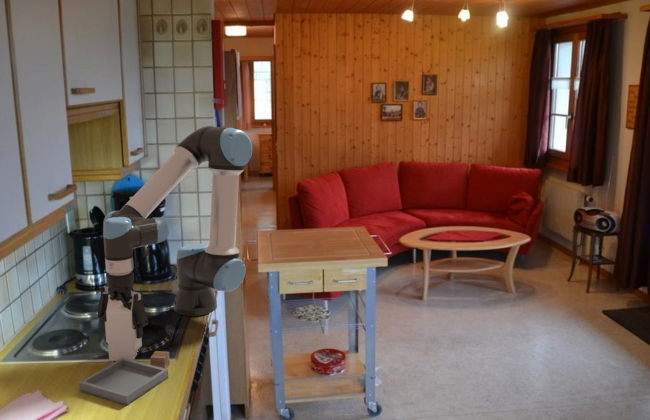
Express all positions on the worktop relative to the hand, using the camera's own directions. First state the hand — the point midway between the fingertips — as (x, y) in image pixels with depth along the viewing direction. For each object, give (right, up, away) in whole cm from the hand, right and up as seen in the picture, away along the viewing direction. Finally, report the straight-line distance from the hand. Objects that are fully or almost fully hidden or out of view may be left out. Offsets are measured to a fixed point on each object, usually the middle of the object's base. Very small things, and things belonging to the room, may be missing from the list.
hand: (123, 344), depth 178 cm
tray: (+5, -7, -16) cm, 18 cm away
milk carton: (0, -4, +1) cm, 4 cm away
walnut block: (+12, -5, -6) cm, 15 cm away
